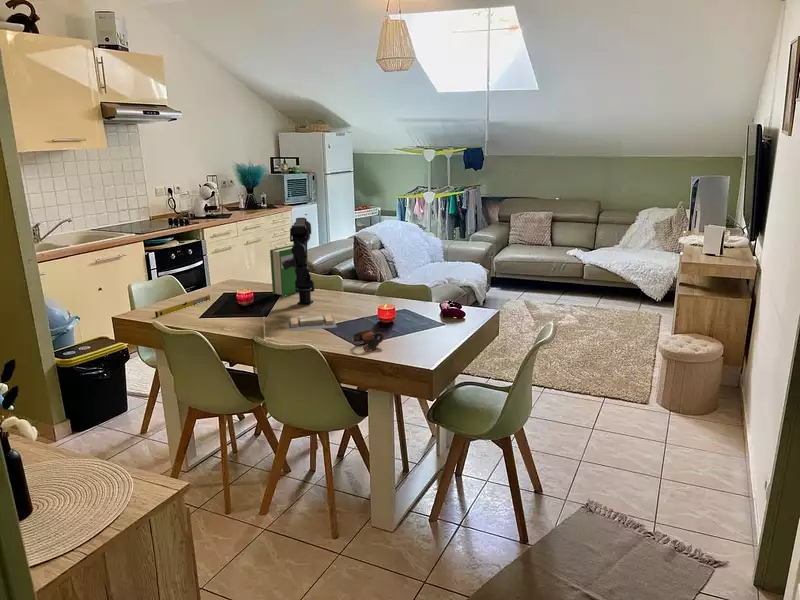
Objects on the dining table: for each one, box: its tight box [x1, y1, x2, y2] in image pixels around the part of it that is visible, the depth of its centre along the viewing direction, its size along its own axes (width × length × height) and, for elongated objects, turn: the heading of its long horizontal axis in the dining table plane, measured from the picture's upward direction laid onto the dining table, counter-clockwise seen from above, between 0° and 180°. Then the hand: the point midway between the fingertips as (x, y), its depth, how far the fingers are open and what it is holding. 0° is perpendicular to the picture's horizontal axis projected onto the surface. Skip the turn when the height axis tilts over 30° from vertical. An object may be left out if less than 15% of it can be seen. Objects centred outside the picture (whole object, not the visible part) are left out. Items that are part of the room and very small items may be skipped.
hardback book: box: [269, 244, 297, 297], centre depth 319 cm, size 18×7×24 cm, turn 147°
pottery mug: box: [352, 329, 385, 352], centre depth 237 cm, size 12×10×8 cm
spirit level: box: [154, 294, 211, 318], centre depth 294 cm, size 33×1×3 cm, turn 153°
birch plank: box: [298, 314, 324, 326], centre depth 265 cm, size 2×10×8 cm
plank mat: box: [287, 314, 338, 332], centre depth 265 cm, size 19×20×3 cm
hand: (301, 285), depth 281 cm, fingers closed
